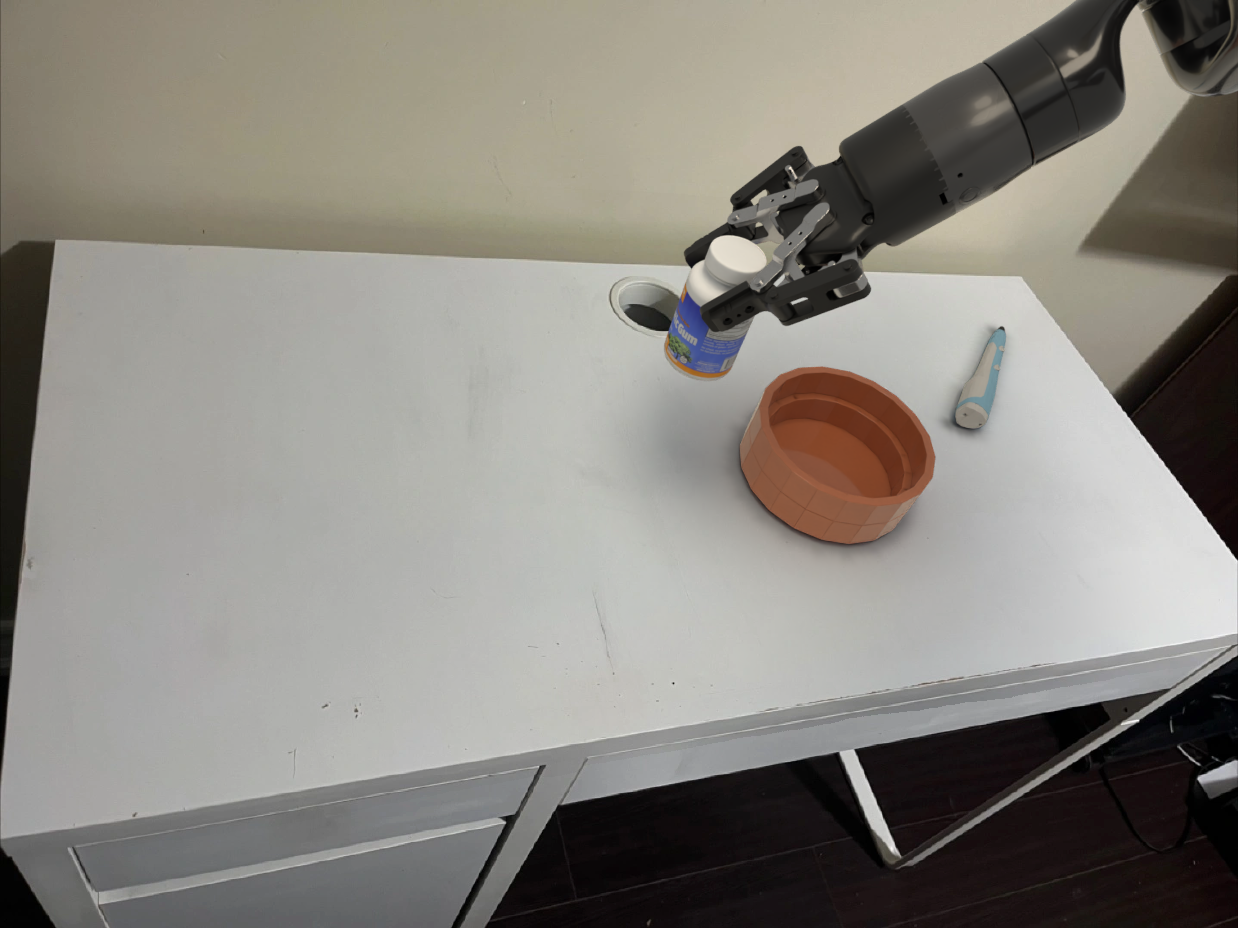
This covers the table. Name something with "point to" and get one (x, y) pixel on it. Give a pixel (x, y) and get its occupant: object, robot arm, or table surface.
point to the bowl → (835, 454)
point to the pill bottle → (688, 334)
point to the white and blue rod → (982, 385)
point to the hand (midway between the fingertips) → (698, 291)
